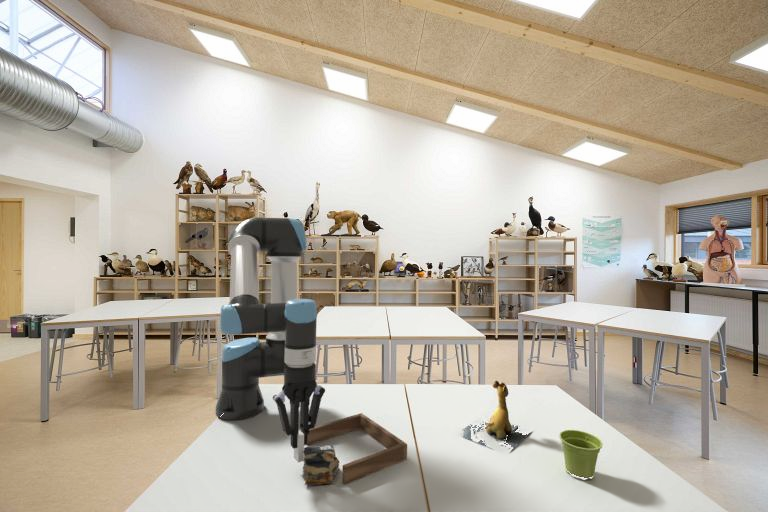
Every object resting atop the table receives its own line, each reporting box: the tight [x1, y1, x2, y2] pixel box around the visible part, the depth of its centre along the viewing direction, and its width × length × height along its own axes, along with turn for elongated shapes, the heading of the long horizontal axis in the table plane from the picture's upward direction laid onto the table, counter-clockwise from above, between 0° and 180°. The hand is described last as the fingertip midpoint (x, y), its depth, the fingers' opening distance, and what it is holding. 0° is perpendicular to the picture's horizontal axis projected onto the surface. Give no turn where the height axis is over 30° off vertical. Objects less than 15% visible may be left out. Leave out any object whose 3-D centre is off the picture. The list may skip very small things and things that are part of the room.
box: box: [306, 412, 408, 485], centre depth 101 cm, size 22×19×4 cm
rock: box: [302, 444, 340, 486], centre depth 91 cm, size 9×9×6 cm
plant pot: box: [558, 429, 603, 478], centre depth 93 cm, size 9×9×9 cm
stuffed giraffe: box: [460, 380, 529, 450], centre depth 112 cm, size 16×18×16 cm
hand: (298, 458), depth 92 cm, fingers closed
